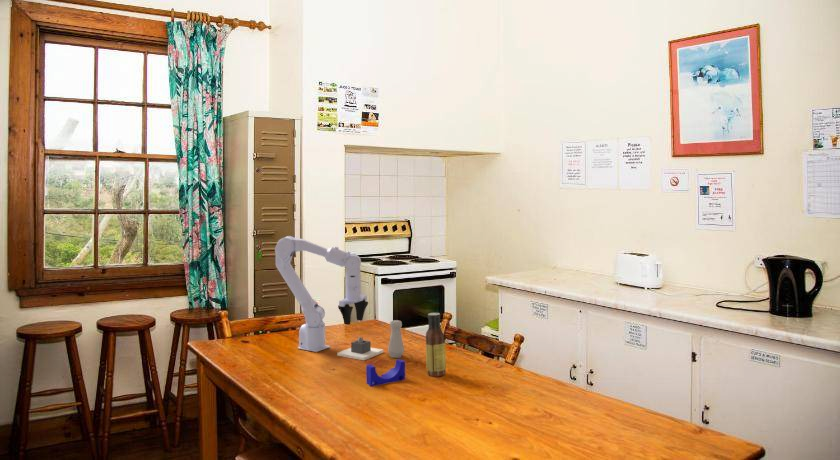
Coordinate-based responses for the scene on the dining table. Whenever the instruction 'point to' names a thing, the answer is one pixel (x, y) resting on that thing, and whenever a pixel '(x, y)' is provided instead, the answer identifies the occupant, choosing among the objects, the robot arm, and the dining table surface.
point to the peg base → (359, 356)
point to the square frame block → (360, 347)
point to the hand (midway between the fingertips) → (353, 322)
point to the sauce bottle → (435, 347)
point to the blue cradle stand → (386, 374)
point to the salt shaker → (396, 340)
